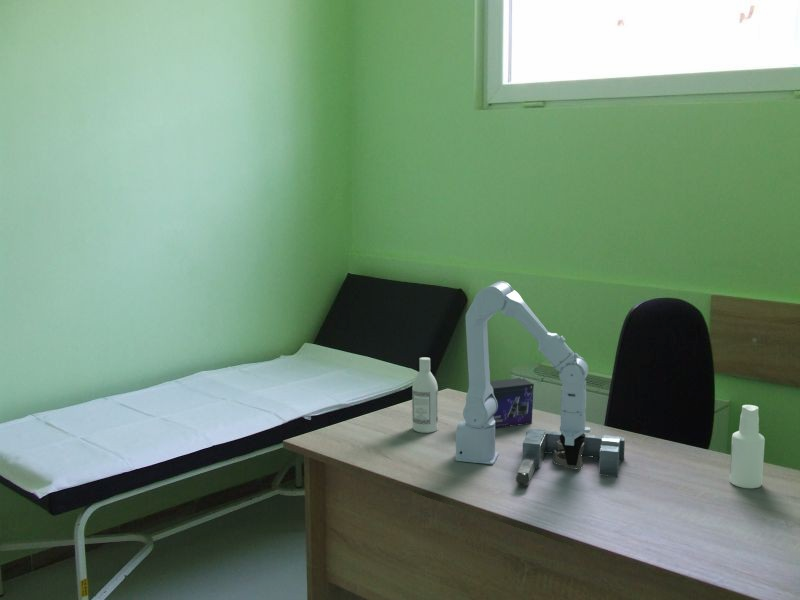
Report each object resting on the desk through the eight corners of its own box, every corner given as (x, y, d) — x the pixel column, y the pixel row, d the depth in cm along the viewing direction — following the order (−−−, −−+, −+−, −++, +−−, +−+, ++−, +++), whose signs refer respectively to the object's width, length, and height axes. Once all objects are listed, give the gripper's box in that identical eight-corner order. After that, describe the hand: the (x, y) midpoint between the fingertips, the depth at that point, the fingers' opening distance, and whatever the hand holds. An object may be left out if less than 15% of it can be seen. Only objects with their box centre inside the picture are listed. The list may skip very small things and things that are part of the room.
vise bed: (518, 466, 199) (518, 439, 198) (527, 448, 211) (527, 422, 210) (621, 476, 192) (622, 449, 190) (624, 457, 204) (625, 431, 203)
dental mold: (593, 464, 199) (594, 444, 199) (573, 471, 196) (574, 450, 195) (569, 455, 206) (569, 435, 205) (549, 461, 202) (549, 441, 201)
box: (478, 431, 224) (479, 389, 222) (468, 424, 230) (468, 383, 228) (533, 423, 230) (534, 382, 228) (521, 416, 236) (522, 376, 234)
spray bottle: (760, 479, 189) (765, 403, 186) (762, 490, 183) (768, 412, 180) (728, 475, 192) (733, 401, 188) (729, 487, 185) (734, 410, 182)
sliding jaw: (512, 488, 185) (512, 463, 184) (529, 451, 208) (529, 428, 207) (530, 490, 184) (531, 465, 183) (545, 452, 207) (546, 429, 206)
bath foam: (427, 423, 231) (426, 354, 228) (443, 429, 226) (442, 358, 222) (407, 428, 227) (406, 358, 223) (423, 435, 222) (422, 362, 218)
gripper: (588, 420, 186) (586, 477, 188) (593, 401, 199) (591, 455, 202) (556, 417, 188) (555, 474, 190) (563, 399, 201) (562, 452, 204)
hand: (571, 464), depth 196 cm, fingers closed
